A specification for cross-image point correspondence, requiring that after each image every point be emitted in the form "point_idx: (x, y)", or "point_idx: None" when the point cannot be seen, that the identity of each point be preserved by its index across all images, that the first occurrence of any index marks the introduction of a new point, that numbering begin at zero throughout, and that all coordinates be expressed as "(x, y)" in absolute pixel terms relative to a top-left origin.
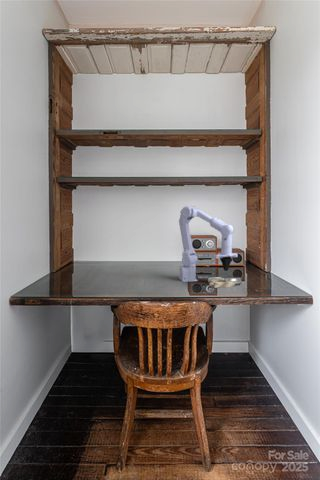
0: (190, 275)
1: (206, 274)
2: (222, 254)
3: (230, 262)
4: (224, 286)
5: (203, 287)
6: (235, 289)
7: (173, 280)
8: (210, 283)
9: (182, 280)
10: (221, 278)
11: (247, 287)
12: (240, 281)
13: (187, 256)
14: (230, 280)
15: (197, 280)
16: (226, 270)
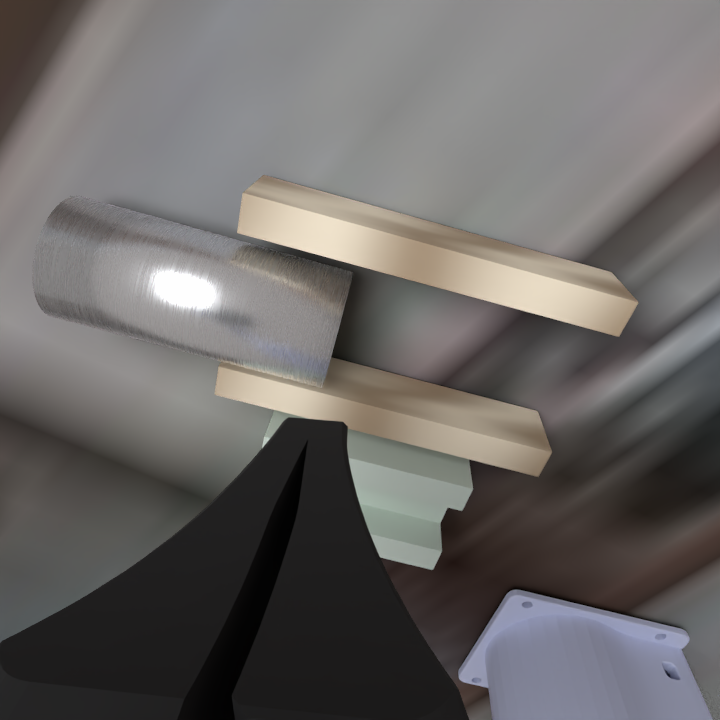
0: (622, 686)
1: None
2: None
3: (148, 566)
4: (446, 227)
5: (715, 371)
6: (374, 8)
7: None
8: (537, 422)
9: (683, 654)
10: None
11: (69, 13)
12: (86, 206)
13: None
14: (275, 279)
15: (520, 596)
16: (334, 422)
